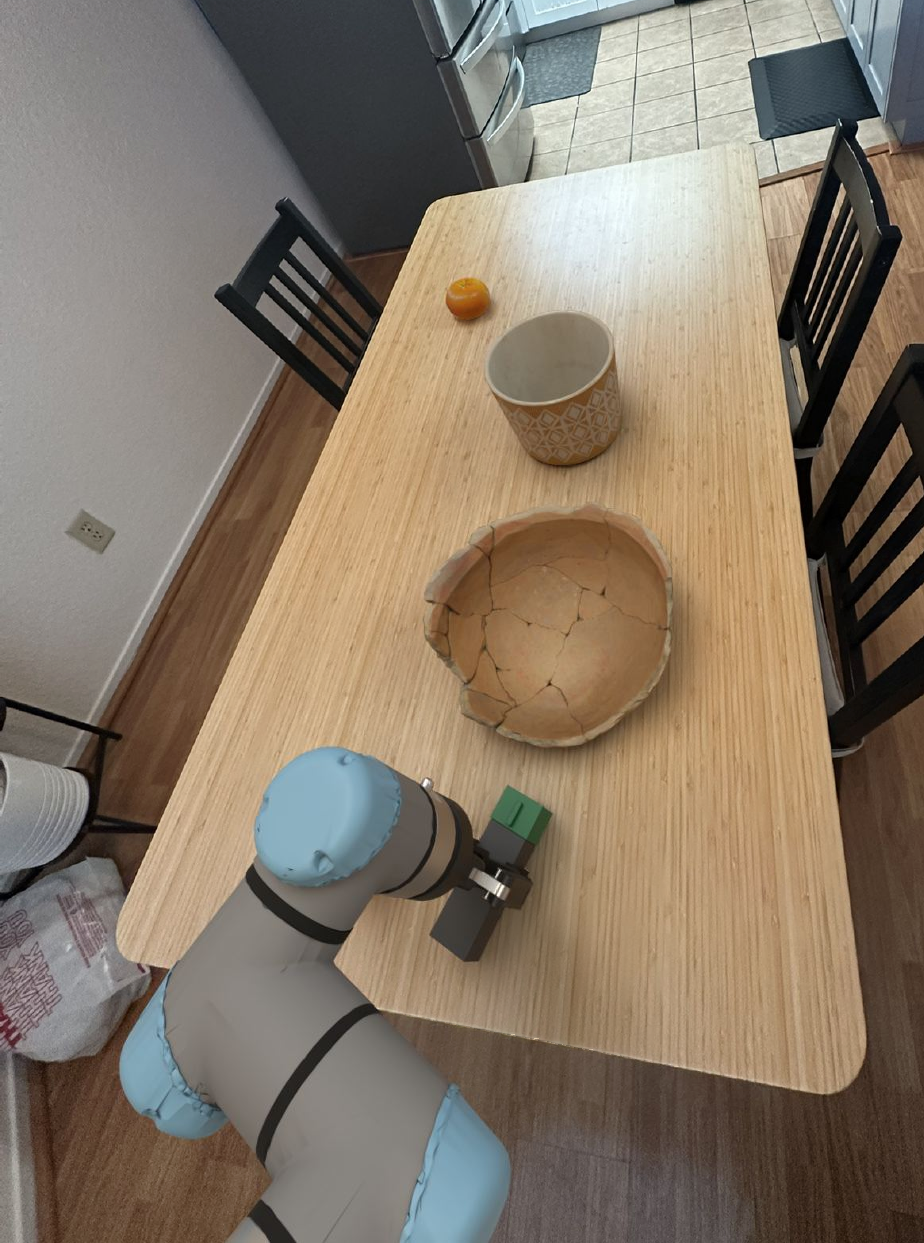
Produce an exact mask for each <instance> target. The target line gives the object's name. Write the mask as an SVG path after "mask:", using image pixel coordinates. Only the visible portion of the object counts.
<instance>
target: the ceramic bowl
mask: <svg viewBox="0 0 924 1243" xmlns="http://www.w3.org/2000/svg"><path fill="white" fill-rule="evenodd" d="M467 544H468V545H467V546H466V547H462V548H460V549H458V550H456V551H455V552H454V553H453V554H452V555H451V556H450V557H449V558H448V559H447V560H446V561H445V562H443V563H442V564H441V565H440V566H439V567H438V568H436V569H435V570H434V571H433V572H432V574H431V576H430V579H429V580H428V583H427V585H426V586H425V590H424V594H423V595H424V596H423V597H424V601H425V602H426V603H429V604H431V606H430V607H429V608H427V611H426V612H425V614H424V615H423V619H422V622H423V635H424V639H425V641H426V642H427V643H428V644H429V646H430V647H431V649H432V650H434V652H435V654H436V658H437V659H440V660H441V661H442V663H443V664H444V665H445V666H446V668H448V669H450V670H451V672H452V674H454V675H455V676H457V677H458V679H459V680H460V681H461V682H462V683H463V684H462V685H461V687H460V693H459V700H458V701H459V705H460V714H461V715H462V716H463V717H465V718H466V719H470V720H472V721H474V722H475V723H477V724H479V725H481V726H483V727H487V728H491V729H494V730H495V732H496V733H497V734H499V735H501V736H503V737H505V738H507V739H510V740H512V741H516V742H521V743H524V744H527V745H533V746H537V747H540V748H546V749H551V748H555V747H556V748H562V749H566V748H570V747H576V746H581V745H583V744H587V743H588V742H590V741H592V740H594V739H596V738H597V737H599V736H601V735H604V734H605V733H607V732H608V731H610V730H611V729H612V728H613V727H614V726H615V725H617V724H618V723H619V722H620V721H621V719H622V718H624V717H625V716H626V715H627V714H629V713H631V712H633V711H634V710H635V709H636V708H638V707H639V706H640V705H641V704H643V702H644V701H645V700H646V699H647V698H648V697H650V695H651V694H652V692H653V691H654V689H655V687H656V685H657V684H658V683H659V682H660V680H661V679H662V676H663V675H664V672H665V670H666V667H667V665H668V662H669V660H670V657H671V651H672V643H673V632H674V623H675V599H674V585H673V577H672V576H673V567H672V565H671V563H670V560H669V558H668V556H667V554H666V552H665V550H664V547H663V545H662V543H661V542H660V540H659V538H658V537H657V535H656V533H655V532H653V531H652V530H651V529H650V528H649V527H648V526H647V525H646V524H645V522H644V521H643V519H641V518H640V517H638V516H636V515H632V514H629V513H627V512H622V511H619V510H616V509H613V508H610V507H607V506H606V505H605V504H603V503H601V502H597V501H588V502H586V503H583V504H582V505H577V506H562V505H558V504H556V503H551V504H549V503H547V504H542V505H537V506H534V507H532V508H530V509H527V510H523V511H520V512H516V513H514V514H510V515H509V516H507V517H504V518H499V519H496V520H494V521H492V522H490V524H485V525H483V526H478V528H477V529H476V530H474V532H473V533H471V535H470V538H469V540H468V542H467Z"/></svg>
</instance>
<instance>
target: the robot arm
mask: <svg viewBox="0 0 924 1243" xmlns="http://www.w3.org/2000/svg"><path fill="white" fill-rule="evenodd" d="M434 784H435V782H434V781H433V779H432V778H430V777H424V778H423V779H422V780H421V781H420V783H419V782H417V781H416V780H415V779H412V778H410V777H409V776H407V775H405V774H403V773H401V772H400V771H398V770H396V769H395V768H393V767H392V766H389V765H388V764H386V763H384V762H383V761H381V760H379V759H378V758H377V757H375V756H373V755H370V754H363V753H362V752H361V753H360V752H357V751H354V750H351V749H348V748H345V747H343V746H321V747H318V748H313V749H311V750H308V751H305V752H303V753H301V754H299V755H298V756H296V757H295V758H293V759H292V760H290V761H289V762H288V763H286V765H284V766H283V767H282V768H281V769H280V770H279V771H278V772H277V774H276V775H275V776H274V777H273V778H272V779H271V781H270V782H269V784H268V786H267V788H266V789H265V791H264V793H263V794H262V801H261V804H260V807H259V811H258V814H257V815H256V817H255V820H254V826H253V836H254V838H253V839H254V840H253V841H254V844H255V850H256V853H257V854H256V855H255V856H254V858H253V861H252V863H251V864H250V865H249V867H248V868H247V870H246V871H245V875H244V877H243V878H242V879H241V880H240V882H239V883H238V884H237V885H236V887H235V888H234V889H233V890H232V892H231V893H230V895H229V896H228V897H227V899H226V900H225V901H224V902H223V904H222V905H221V907H220V908H218V910H217V911H216V913H215V914H214V915H213V916H212V918H211V919H210V921H209V922H207V924H206V925H205V927H204V928H203V929H202V931H201V932H200V933H199V934H198V936H197V937H196V939H195V940H194V941H193V943H191V945H190V946H189V948H188V949H187V950H186V951H185V953H183V956H181V958H180V959H178V960H177V961H176V962H175V964H174V965H173V966H172V967H171V968H170V969H169V971H168V972H167V973H166V976H165V977H164V978H163V980H162V982H161V984H159V986H158V988H157V990H156V991H155V992H154V994H153V996H152V997H151V999H150V1000H149V1002H148V1003H147V1005H146V1007H145V1008H144V1009H143V1011H142V1013H141V1014H140V1016H139V1018H138V1020H137V1022H136V1023H135V1025H134V1026H133V1028H132V1029H131V1030H130V1033H129V1034H128V1036H127V1038H126V1040H125V1042H124V1043H123V1047H122V1050H121V1053H120V1057H119V1064H118V1067H119V1073H118V1074H119V1080H120V1085H121V1088H122V1090H123V1092H124V1095H125V1097H126V1099H127V1100H128V1102H129V1104H130V1106H131V1107H132V1108H133V1110H134V1111H136V1113H137V1114H138V1115H140V1116H143V1117H148V1118H150V1119H151V1120H152V1121H153V1122H154V1124H155V1127H156V1129H157V1130H159V1131H160V1132H162V1133H163V1134H167V1135H169V1136H171V1137H175V1138H178V1139H184V1140H199V1139H205V1138H207V1137H210V1136H212V1135H214V1134H216V1133H217V1132H219V1131H221V1129H222V1128H223V1127H224V1126H225V1125H226V1124H227V1123H228V1122H229V1121H230V1124H232V1126H233V1127H234V1128H235V1129H236V1131H237V1133H238V1134H239V1135H240V1136H241V1138H242V1139H243V1140H244V1142H245V1143H246V1144H247V1145H248V1148H250V1150H251V1151H252V1152H253V1153H254V1155H255V1156H256V1159H257V1160H258V1162H259V1163H260V1164H261V1166H262V1167H263V1168H264V1170H265V1171H266V1172H267V1173H268V1175H269V1176H270V1178H271V1179H272V1181H271V1183H270V1184H269V1186H268V1187H267V1188H266V1190H265V1191H264V1193H263V1194H262V1195H261V1196H260V1198H259V1199H258V1201H257V1202H256V1203H255V1205H254V1206H253V1207H252V1209H251V1210H250V1211H249V1213H248V1214H247V1215H246V1216H244V1217H243V1218H242V1220H240V1223H238V1225H237V1226H236V1227H235V1229H234V1230H233V1231H232V1232H231V1234H230V1235H229V1236H228V1237H227V1239H226V1240H225V1242H224V1243H490V1242H491V1241H490V1240H491V1239H492V1236H493V1234H494V1232H495V1229H496V1227H497V1225H498V1222H499V1220H500V1218H501V1215H502V1212H503V1210H504V1208H505V1206H506V1201H507V1199H508V1195H509V1192H510V1184H511V1178H512V1167H511V1160H510V1156H509V1153H508V1151H507V1149H506V1147H505V1145H504V1144H503V1142H502V1141H501V1140H500V1139H499V1138H498V1137H497V1136H496V1134H495V1133H494V1132H493V1131H492V1130H491V1128H489V1126H488V1125H487V1124H486V1123H485V1121H484V1120H483V1119H482V1118H481V1117H480V1116H479V1115H478V1114H477V1112H476V1111H475V1110H474V1109H473V1108H472V1106H471V1105H470V1104H469V1103H468V1101H466V1099H465V1098H464V1097H463V1096H462V1095H461V1089H460V1087H459V1086H458V1085H457V1084H455V1082H451V1081H449V1079H447V1077H446V1076H445V1075H443V1073H442V1072H440V1070H438V1068H437V1067H436V1066H435V1065H434V1064H433V1063H432V1062H431V1061H429V1059H428V1058H426V1057H425V1056H424V1055H423V1054H422V1053H421V1052H420V1051H419V1050H418V1049H417V1048H416V1047H415V1046H414V1045H413V1043H411V1042H410V1041H409V1040H408V1038H406V1037H405V1036H404V1035H403V1034H402V1033H401V1032H400V1031H399V1030H398V1029H397V1028H396V1027H395V1026H394V1025H393V1024H392V1023H391V1022H390V1021H389V1020H388V1019H387V1018H386V1017H384V1014H383V1013H382V1012H381V1011H380V1010H379V1009H378V1008H377V1007H376V1005H375V1004H374V1003H373V1002H372V1001H371V1000H370V999H369V997H367V996H366V995H365V994H364V993H363V992H362V991H361V989H360V988H358V987H357V985H356V984H354V983H353V981H352V980H350V979H349V978H348V976H347V975H345V973H344V972H343V971H342V970H341V969H340V968H339V967H338V966H337V965H336V963H335V962H334V961H335V959H336V958H337V956H338V954H339V953H340V950H341V949H342V947H343V945H344V944H345V942H346V941H347V939H348V938H349V936H350V934H351V933H352V931H353V930H354V927H355V925H356V923H357V921H358V920H359V918H360V917H361V915H362V913H363V912H364V911H365V909H366V907H367V906H368V904H369V903H370V901H371V899H372V898H373V897H374V896H378V897H385V898H390V899H397V900H398V899H403V900H409V901H415V902H428V901H434V900H436V899H439V898H441V897H443V896H445V895H446V894H448V893H449V892H450V891H453V889H454V887H458V888H461V889H463V890H466V891H470V890H471V889H472V888H474V887H477V888H479V889H482V890H484V891H485V893H484V895H483V898H484V899H486V900H488V903H489V904H490V907H492V908H493V909H495V910H496V909H498V910H501V908H505V909H510V910H518V911H521V910H522V908H523V906H524V905H525V903H526V900H527V898H528V896H529V894H530V892H531V890H532V888H533V885H534V884H535V883H534V881H533V880H532V878H531V877H529V874H530V873H531V872H530V871H529V870H527V869H526V868H525V869H524V868H521V867H519V866H516V865H514V864H511V863H509V862H506V863H505V864H504V863H501V862H499V861H497V860H495V859H493V858H491V857H489V851H488V850H486V849H485V848H483V847H482V846H480V845H479V844H478V843H479V840H480V839H477V838H475V837H474V832H473V827H472V823H471V821H470V818H469V816H468V814H467V812H466V811H465V809H464V808H463V807H462V806H461V805H460V804H459V803H458V802H456V801H455V800H453V799H451V798H449V797H447V796H445V795H444V794H442V793H441V792H437V791H435V790H433V788H434Z"/></svg>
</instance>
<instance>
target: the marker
mask: <svg viewBox="0 0 924 1243" xmlns="http://www.w3.org/2000/svg"><path fill="white" fill-rule="evenodd" d="M553 814H554V813H553V812H551V811H550V810H548V809H547V808H546V807H545V806H543V805H541V803H540V802H539V803H538V802H537V801H535V800H534V799H533V798H531V797H529V796H527V795H526V794H523V793H522V792H520V791H518V790H517V789H515V788H514V787H512V786H511V785H508V784H506V787H505V788H504V790H503V792H502V794H501V795H500V798H499V800H498V802H497V803H496V804H495V807H494V809H493V811H492V813H491V815H490V819H489V821H488V824H487V825H486V827H485V829H484V831H483V833H482V835H481V837H480V839H478V840H479V843H478V844H479V845H480V846H482V847H483V848H485V849H486V850H488V851H489V857H491V858H493V859H495V860H497V861H499V862H501V863H504V864H505V863H506V862H509V863H511V864H514V865H516V866H519V867H521V868H524V869H526V867H527V865H528V863H529V861H530V859H531V857H532V855H533V853H534V851H535V849H536V847H537V846H538V845H539V843H540V840H541V839H542V838H543V836H544V833H545V831H546V829H547V827H548V825H549V823H550V821H551V818H552V817H553ZM484 893H485V891H484V890H482V889H479V888H477V887H474V888H472V889H471V890H470V891H466V890H463V889H461V888H458V887H454V888H453V889H452V890H451V892H450V895H449V896H448V898H447V900H446V901H445V904H444V905H443V907H442V910H441V912H440V913H439V915H438V917H437V918H436V921H435V923H434V924H433V926H432V928H431V930H430V932H429V934H428V935H429V936H430V937H431V938H432V939H433V940H435V942H437V943H439V944H440V945H441V946H443V947H444V948H445V949H446V950H448V951H449V952H450V953H452V954H453V955H454V956H455V957H457V958H458V959H459V960H461V961H462V962H463V963H476V962H477V963H478V962H480V960H481V958H482V956H483V954H484V952H485V950H486V948H487V946H488V943H489V942H490V940H491V938H492V936H493V934H494V932H495V930H496V928H497V925H498V924H499V922H500V920H501V918H502V916H503V914H504V912H505V909H506V908H501V910H498V909H496V910H495V909H493V908H492V907H490V904H489V903H488V900H486V899H484V898H483V895H484Z"/></svg>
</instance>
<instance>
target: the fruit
mask: <svg viewBox="0 0 924 1243" xmlns="http://www.w3.org/2000/svg"><path fill="white" fill-rule="evenodd" d="M490 303H491V295H490V291H489V288H488V286H487V285H486V284H485V283H484V282H483V281H482V280H481V279H479V278H476V277H463V278H460V279H457V280H456V281H454V282H453V283H451V284H450V286H449V287H448V289H447V290H446V294H445V305H446V308H447V309H448V310H449V312H450V313H451V314H452V315H453V316H455V317H457V318H458V319H460V320H468V321H469V320H470V321H471V320H474V319H477V318H479V317H481V316H482V315H484V314H485V312H486V311H487V310H488V308H489V306H490Z"/></svg>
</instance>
